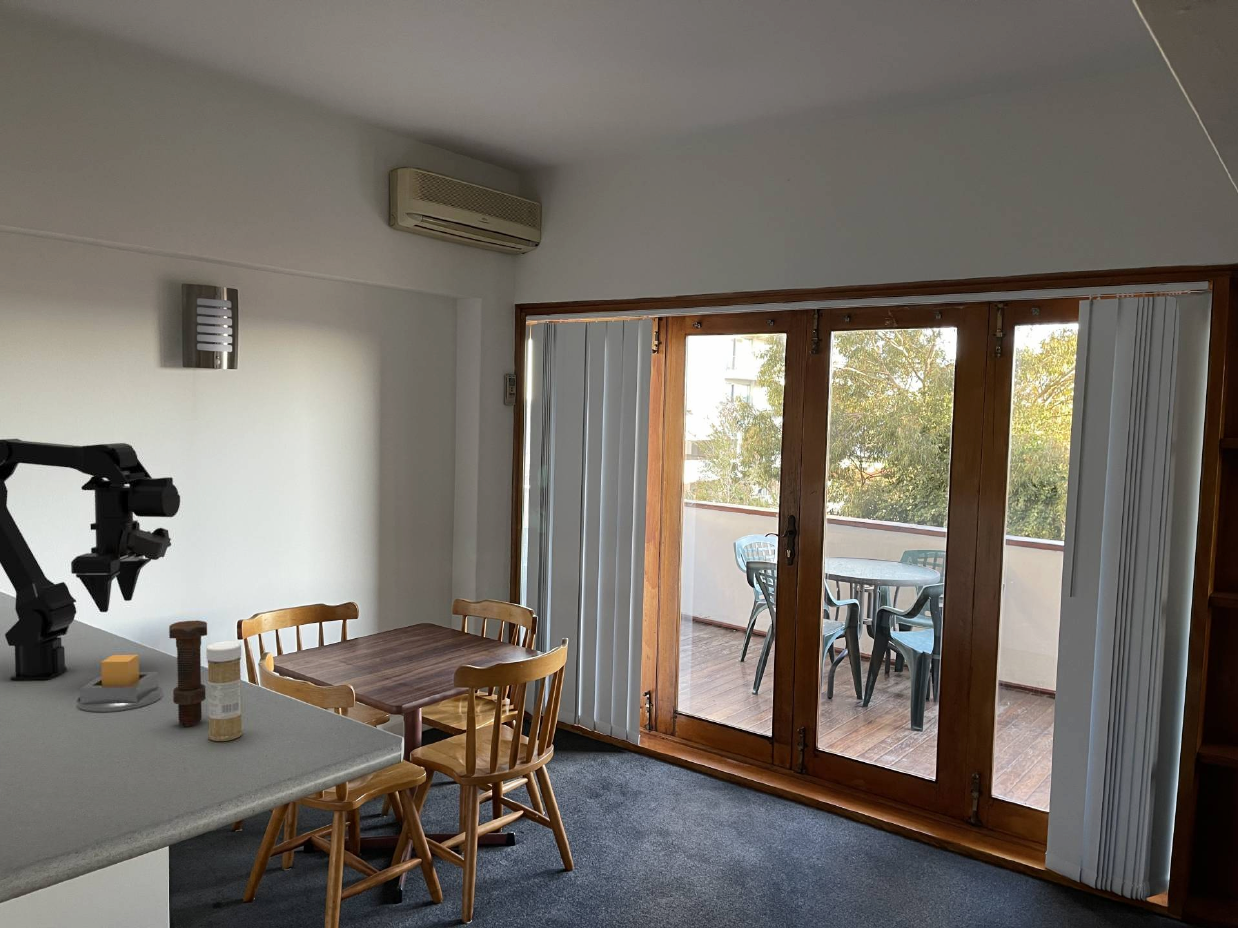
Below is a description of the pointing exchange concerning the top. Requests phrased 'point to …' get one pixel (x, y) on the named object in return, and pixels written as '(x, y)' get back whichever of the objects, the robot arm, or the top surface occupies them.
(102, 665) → the orange rectangular block
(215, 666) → the spice jar
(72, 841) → the top surface
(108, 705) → the rosette collar
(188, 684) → the bolt
